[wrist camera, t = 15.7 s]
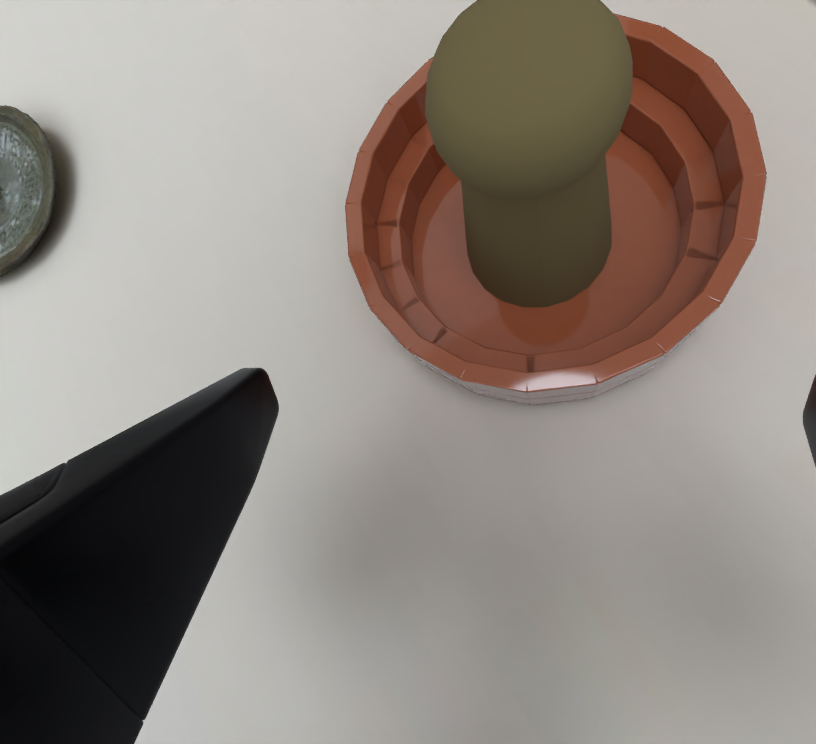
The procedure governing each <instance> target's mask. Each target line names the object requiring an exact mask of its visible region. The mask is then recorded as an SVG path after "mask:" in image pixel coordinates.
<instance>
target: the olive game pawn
mask: <svg viewBox="0 0 816 744" xmlns="http://www.w3.org/2000/svg"><path fill="white" fill-rule="evenodd" d="M632 84H633V61H632V55H631V50H630V45H629V43H628V40H627V38H626V35H625V33H624V30H623V28H622V25H621V23H620V21H619V19H618V18H617V17H616V16H615V15H614V14H613V13H612V12H611V11H610V10H609V9H608V8H607V7H606V6H605V5H604V4H603V3H602V2H601V1H600V0H477V1H476V2H474V3H473V4H472V5H471V6H469V7H468V8H467V9H465V10H464V11H463V12H462V13H460V15H459V16H458V17H457V19H456V20H455V21H454V22H453V24H452V25H451V26H450V28H449V29H448V30H447V32H446V33H445V34H444V35H443V37H442V39H441V41H440V44H439V46H438V48H437V50H436V53H435V55H434V58H433V60H432V63H431V65H430V68H429V70H428V73H427V83H426V97H425V116H426V119H427V123H428V126H429V130H430V133H431V137H432V140H433V143H434V145H435V148H436V150H437V152H438V154H439V155H440V157H441V158H442V159H443V161H444V162H445V163H446V165H447V166H448V167H449V169H450V170H451V171H452V173H453V174H454V175H455V176H456V177H457V178H458V179H460V180H461V185H462V197H463V209H464V221H465V233H466V245H467V254H468V257H469V261H470V264H471V268H472V271H473V273H474V275H475V276H476V277H477V279H478V280H479V282H480V283H481V284H482V286H483V287H484V289H486V290H487V291H489V292H490V293H491V294H493V295H494V296H496V297H497V298H499V299H500V300H501V301H504V302H507V303H511V304H514V305H517V306H520V307H548V306H552V305H555V304H558V303H561V302H565V301H568V300H570V299H572V298H573V297H575V296H576V295H577V294H579V293H580V292H582V291H583V290H585V289H586V288H588V287H589V286H590V285H591V284H592V282H593V281H594V280H595V279H596V277H597V276H598V275H599V274H600V272H601V271H602V270H603V269H604V266H605V263H606V261H607V258H608V255H609V253H610V250H611V245H612V223H611V212H610V201H609V190H608V179H607V168H606V156H605V154H606V152H607V151H608V150H609V149H610V147H611V146H612V144H613V143H614V141H615V140H616V139H617V137H618V135H619V132H620V130H621V127H622V124H623V122H624V119H625V116H626V114H627V111H628V108H629V104H630V100H631V96H632Z"/></svg>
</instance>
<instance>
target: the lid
mask: <svg viewBox="0 0 816 744" xmlns="http://www.w3.org/2000/svg"><path fill="white" fill-rule="evenodd" d="M55 197H56V167H55V162H54V156H53V153H52V150H51V148H50V145H49V142H48V140H47V138H46V136H45V134H44V132H43V131H42V130H41V128H40V127H39V125H38V124H37V123H36V122H35V121H34V120H33V119H32V118H31V117H30V116H29V115H27V114H26V113H23V112H21V111H20V110H18V109H16V108H14V107H11V106H6V105H5V106H0V277H2V276H3V275H5V274H7V273H8V272H10V271H11V270H12V269H13V268H15V267H16V266H18V265H19V264H21V263H22V262H23V261H24V260H25V259H26V258H27V257H28V256H29V254H30V253H31V252H32V250H33V249H34V248H35V246H36V245H37V243H38V242H39V240H40V239H41V237H42V235H43V234H44V232H45V230H46V229H47V227H48V226H49V224H50V221H51V216H52V211H53V205H54V202H55Z"/></svg>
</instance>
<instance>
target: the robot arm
mask: <svg viewBox="0 0 816 744" xmlns="http://www.w3.org/2000/svg"><path fill="white" fill-rule="evenodd" d="M278 411H279V405H278V400H277V397H276V395H275V392H274V389H273V387H272V384H271V382H270V379H269V376H268V374H267V372H266V371H265V370H264V369H262V368H243V369H240V370H238V371H236V372H234V373H233V374H231V375H229V376H227V377H225V378H223V379H221V380H219V381H217V382H216V383H214V384H212V385H210V386H208V387H206V388H204V389H202V390H200V391H199V392H197V393H195V394H193V395H191V396H189V397H187V398H185V399H183V400H182V401H180V402H178V403H176V404H174V405H172V406H170V407H168V408H166V409H165V410H163V411H161V412H159V413H157V414H155V415H153V416H151V417H149V418H148V419H146V420H144V421H142V422H140V423H138V424H136V425H134V426H132V427H131V428H129V429H127V430H125V431H123V432H121V433H119V434H117V435H115V436H114V437H112V438H110V439H108V440H106V441H104V442H102V443H100V444H98V445H97V446H95V447H93V448H91V449H89V450H87V451H85V452H83V453H81V454H80V455H78V456H76V457H74V458H72V459H70V460H68V462H67V463H62V464H60V465H59V466H57V467H55V468H53V469H51V470H49V471H47V472H45V473H44V474H42V475H40V476H38V477H36V478H34V479H32V480H30V481H28V482H26V483H24V484H22V485H20V486H18V487H16V488H14V489H12V490H11V491H8V492H6V493H4V494H2V495H0V744H134V743H135V741H136V738H137V736H138V734H139V732H140V730H141V728H142V725H143V720H145V718H146V716H147V714H148V712H149V710H150V707H151V705H152V703H153V701H154V699H155V697H156V695H157V692H158V690H159V688H160V686H161V684H162V682H163V679H164V677H165V675H166V673H167V671H168V669H169V666H170V664H171V662H172V660H173V658H174V656H175V653H176V651H177V649H178V647H179V645H180V643H181V641H182V638H183V636H184V634H185V632H186V630H187V628H188V625H189V623H190V621H191V619H192V617H193V615H194V612H195V610H196V608H197V606H198V604H199V602H200V599H201V597H202V595H203V593H204V591H205V589H206V587H207V584H208V582H209V580H210V578H211V576H212V574H213V571H214V569H215V567H216V565H217V563H218V561H219V558H220V556H221V554H222V552H223V550H224V548H225V545H226V543H227V541H228V539H229V537H230V535H231V533H232V530H233V528H234V526H235V524H236V522H237V520H238V517H239V515H240V513H241V511H242V509H243V507H244V504H245V502H246V500H247V498H248V496H249V494H250V492H251V489H252V487H253V485H254V482H255V480H256V477H257V474H258V472H259V469H260V466H261V463H262V460H263V457H264V454H265V451H266V448H267V446H268V443H269V440H270V437H271V434H272V431H273V428H274V425H275V422H276V419H277V416H278ZM803 425H804V429H805V432H806V436H807V439H808V443H809V446H810V449H811V453H812V456H813V460H814V463H815V467H816V375H815V377H814V380H813V383H812V386H811V389H810V392H809V395H808V399H807V402H806V405H805V408H804V411H803Z"/></svg>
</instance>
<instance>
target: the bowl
mask: <svg viewBox="0 0 816 744" xmlns="http://www.w3.org/2000/svg"><path fill="white" fill-rule="evenodd" d="M613 14H614V13H613ZM614 15H615V16H616V17H617V18H618V19H619V21H620V23H621V25H622V28H623V30H624V33H625V35H626V38H627V40H628V43H629V45H630V50H631V55H632V61H633V84H632V96H631V100H630V104H629V108H628V111H627V114H626V116H625V119H624V122H623V124H622V127H621V130H620V132H619V135H618V137H617V139H616V140H615V141H614V143H613V144H612V146H611V147H610V149H609V150H608V151H607V152H606V154H605V156H606V168H607V179H608V190H609V201H610V212H611V223H612V245H611V250H610V253H609V255H608V258H607V261H606V263H605V266H604V269H603V270H602V271H601V272H600V274H599V275H598V276H597V277H596V279H595V280H594V281H593V282H592V284H591V285H590V286H589V287H588V288H586V289H585V290H583V291H582V292H580V293H579V294H577V295H576V296H575V297H573V298H572V299H570V300H568V301H565V302H561V303H558V304H555V305H552V306H548V307H520V306H517V305H514V304H511V303H507V302H504V301H501V300H500V299H499V298H497V297H496V296H494V295H493V294H491V293H490V292H489V291H487V290H486V289H484V287H483V286H482V284H481V283H480V282H479V280H478V279H477V277H476V276H475V275H474V273H473V271H472V268H471V264H470V261H469V257H468V254H467V245H466V233H465V221H464V209H463V197H462V185H461V180H460V179H458V178H457V177H456V176H455V175H454V174H453V173H452V171H451V170H450V169H449V167H448V166H447V165H446V163H445V162H444V161H443V159H442V158H441V157H440V155H439V154H438V152H437V150H436V148H435V145H434V143H433V140H432V137H431V133H430V130H429V126H428V123H427V119H426V116H425V97H426V83H427V73H428V70H429V68H430V65H431V63H432V60H433V58H434V57H432V58H431V59H429V60H428V62H426V63H425V64H424V65H423V66H422V67H421V68H420V69H419V70H418V71H417V72H416V73H415V74H414V75H413V76H412V77H411V78H410V79H409V80H408V81H407V82H406V83H405V84H404V85H403V86H402V87H401V88H400V89H399V90H398V91H397V92H396V93H395V94H394V95H393V96H392V97H391V98H390V99H389V100H388V102H387V103H386V104H385V106H384V107H383V109H382V111H381V112H380V114H379V116H378V118H377V119H376V121H375V123H374V125H373V126H372V128H371V130H370V132H369V133H368V135H367V137H366V138H365V140H364V142H363V144H362V145H361V147H360V149H359V152H358V154H357V158H356V163H355V167H354V171H353V175H352V179H351V183H350V187H349V191H348V195H347V199H346V205H345V210H346V225H347V240H348V255H349V258H350V262H351V265H352V267H353V270H354V272H355V274H356V277H357V279H358V282H359V284H360V287H361V289H362V291H363V294H364V296H365V299H366V301H367V303H368V306H369V307H370V310H371V311H372V312H373V313H374V314H375V315H376V316H377V317H378V319H379V320H380V321H381V322H382V323H383V324H384V325H385V326H386V327H387V329H388V330H389V331H390V332H391V333H392V334H393V335H394V336H395V337H396V339H397V340H398V341H399V342H400V343H401V344H402V345H403V346H404V347H405V349H406V350H407V351H409V352H410V353H411V354H413V355H414V356H415V357H417V358H418V359H420V360H421V361H422V362H423V363H425V364H426V365H427V366H429V367H430V368H431V369H433V370H435V371H436V372H438V373H440V374H442V375H444V376H445V377H447V378H449V379H451V380H453V381H454V382H456V383H458V384H460V385H462V386H463V387H465V388H467V389H469V390H471V391H472V392H474V393H477V394H479V395H485V396H490V397H495V398H500V399H505V400H510V401H515V402H521V403H526V404H542V403H551V402H560V401H569V400H578V399H586V398H590V397H594V396H596V395H598V394H601V393H603V392H605V391H608V390H610V389H612V388H614V387H617V386H619V385H621V384H623V383H626V382H628V381H630V380H632V379H635V378H637V377H639V376H642V375H644V374H645V373H646V372H648V371H650V370H651V369H652V368H653V367H654V366H655V365H656V364H657V363H659V362H660V361H661V360H662V359H663V358H664V357H665V356H666V355H668V354H669V353H670V352H671V351H672V350H673V349H674V348H676V347H677V346H678V345H679V344H680V343H681V342H682V341H683V340H685V339H686V338H687V337H688V336H689V335H690V334H691V333H692V332H693V331H694V330H695V329H696V328H697V327H699V326H700V325H701V324H702V323H703V322H704V321H705V320H706V319H707V318H708V317H709V316H710V315H711V314H712V313H713V312H714V311H715V310H716V309H717V308H718V307H719V306H720V305H721V304H722V302H723V301H724V299H725V297H726V295H727V294H728V292H729V290H730V288H731V287H732V285H733V283H734V281H735V280H736V278H737V276H738V274H739V272H740V271H741V269H742V267H743V265H744V264H745V262H746V260H747V258H748V257H749V255H750V253H751V251H752V249H753V248H754V246H755V242H756V241H757V236H758V229H759V223H760V216H761V210H762V203H763V197H764V191H765V184H766V174H767V173H766V169H765V164H764V160H763V156H762V152H761V148H760V143H759V139H758V135H757V131H756V127H755V122H754V118H753V114H752V113H751V111H750V109H749V108H748V106H747V105H746V103H745V102H744V101H743V99H742V98H741V96H740V95H739V94H738V92H737V91H736V89H735V88H734V87H733V85H732V84H731V83H730V81H729V80H728V78H727V77H726V76H725V74H724V73H723V71H722V70H721V69H720V67H719V66H718V64H717V63H716V62H715V61H714V60H713V59H712V58H710V57H709V56H707V55H706V54H704V53H703V52H701V51H700V50H698V49H697V48H695V47H694V46H692V45H691V44H689V43H688V42H686V41H685V40H683V39H682V38H680V37H679V36H677V35H675V34H674V33H672V32H671V31H669V30H668V29H666V28H665V27H663V28H662V27H661V26H659V25H655V24H651V23H648V22H644V21H640V20H636V19H633V18H629V17H625V16H621V15H618V14H614Z"/></svg>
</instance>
